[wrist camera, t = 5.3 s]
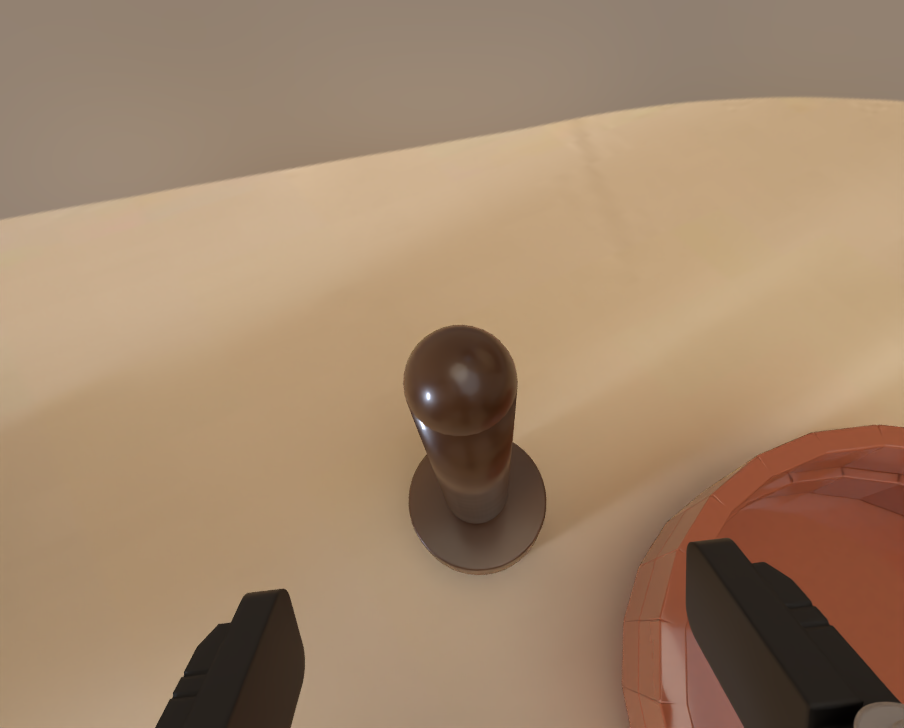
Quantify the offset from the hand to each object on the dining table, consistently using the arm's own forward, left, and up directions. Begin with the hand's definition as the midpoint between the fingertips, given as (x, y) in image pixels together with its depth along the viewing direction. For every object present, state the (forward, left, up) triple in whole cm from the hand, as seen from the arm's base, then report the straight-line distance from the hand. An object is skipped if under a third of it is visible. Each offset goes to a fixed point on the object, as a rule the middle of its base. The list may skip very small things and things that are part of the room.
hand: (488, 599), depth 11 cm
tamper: (-3, +3, -13) cm, 13 cm away
